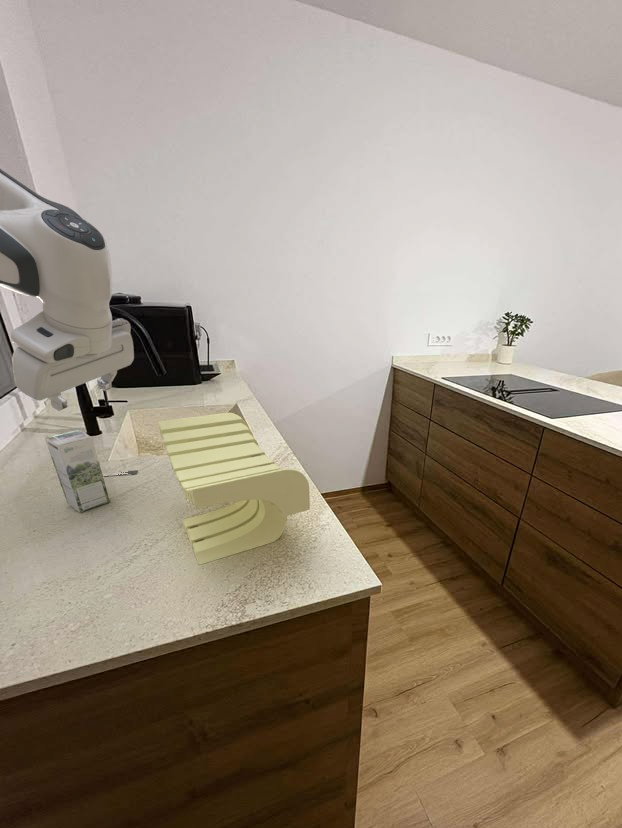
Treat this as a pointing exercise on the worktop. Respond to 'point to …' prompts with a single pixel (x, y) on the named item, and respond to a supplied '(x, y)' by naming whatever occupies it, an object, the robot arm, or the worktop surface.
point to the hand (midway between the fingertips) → (83, 397)
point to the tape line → (130, 472)
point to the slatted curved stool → (230, 485)
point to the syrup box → (78, 469)
